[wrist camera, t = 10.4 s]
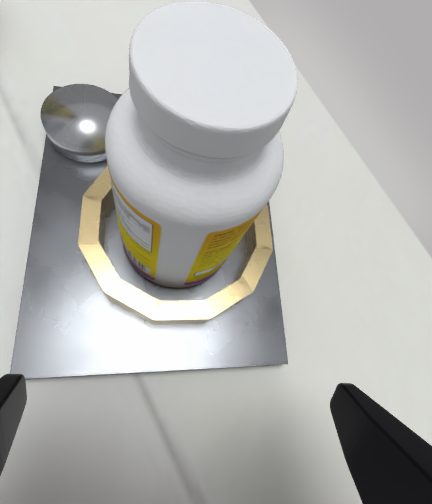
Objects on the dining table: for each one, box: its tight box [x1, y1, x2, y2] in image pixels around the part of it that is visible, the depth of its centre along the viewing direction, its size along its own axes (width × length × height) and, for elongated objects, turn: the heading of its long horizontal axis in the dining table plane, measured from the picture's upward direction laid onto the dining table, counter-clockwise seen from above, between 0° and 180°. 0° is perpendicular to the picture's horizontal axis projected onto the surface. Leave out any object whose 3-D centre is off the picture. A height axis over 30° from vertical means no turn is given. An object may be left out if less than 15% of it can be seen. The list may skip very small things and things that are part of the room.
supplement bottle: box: [105, 1, 298, 288], centre depth 14 cm, size 7×7×13 cm
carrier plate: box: [10, 84, 288, 379], centre depth 20 cm, size 19×15×3 cm
